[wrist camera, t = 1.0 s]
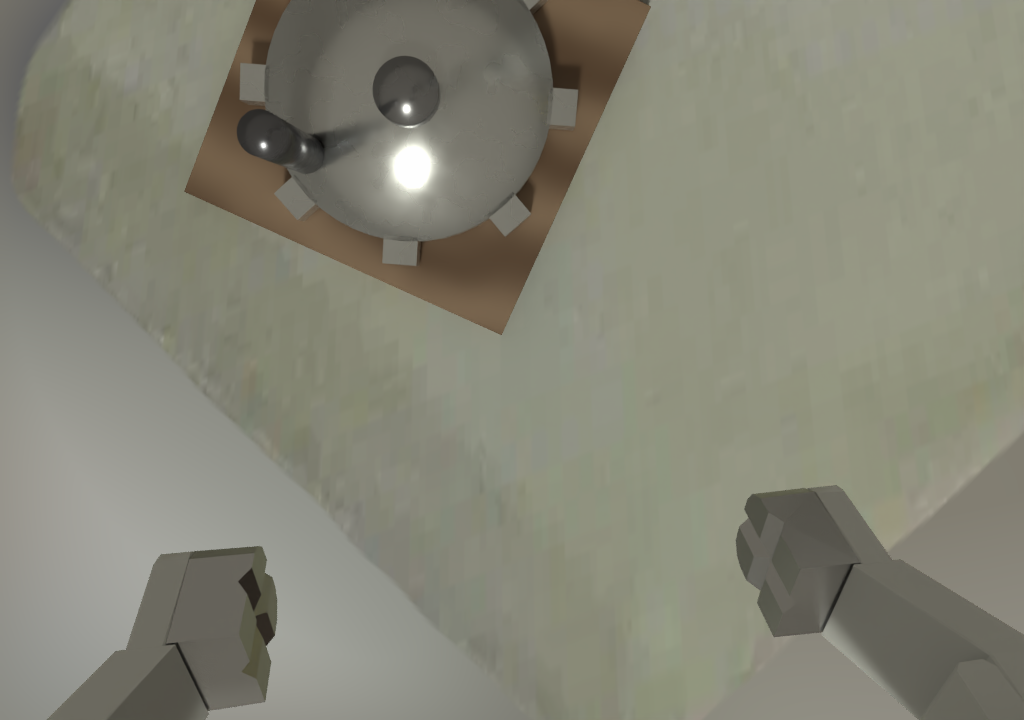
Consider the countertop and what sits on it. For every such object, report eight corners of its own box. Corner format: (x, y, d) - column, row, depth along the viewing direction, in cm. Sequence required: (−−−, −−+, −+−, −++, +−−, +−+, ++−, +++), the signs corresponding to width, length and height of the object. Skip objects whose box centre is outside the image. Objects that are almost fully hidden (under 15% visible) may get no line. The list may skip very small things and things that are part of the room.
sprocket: (324, -130, 44) (271, -235, 34) (625, 15, 45) (653, -48, 35) (206, 181, 47) (128, 162, 37) (492, 310, 48) (485, 324, 38)
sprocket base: (323, -148, 45) (308, -180, 42) (648, 10, 46) (658, -9, 43) (194, 193, 48) (171, 189, 45) (501, 332, 50) (500, 338, 46)
